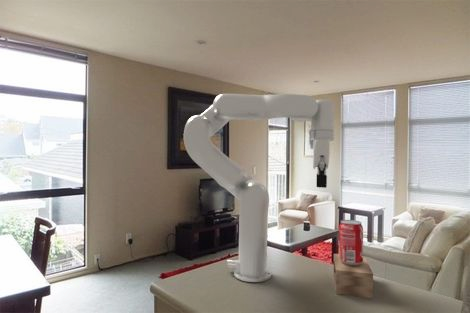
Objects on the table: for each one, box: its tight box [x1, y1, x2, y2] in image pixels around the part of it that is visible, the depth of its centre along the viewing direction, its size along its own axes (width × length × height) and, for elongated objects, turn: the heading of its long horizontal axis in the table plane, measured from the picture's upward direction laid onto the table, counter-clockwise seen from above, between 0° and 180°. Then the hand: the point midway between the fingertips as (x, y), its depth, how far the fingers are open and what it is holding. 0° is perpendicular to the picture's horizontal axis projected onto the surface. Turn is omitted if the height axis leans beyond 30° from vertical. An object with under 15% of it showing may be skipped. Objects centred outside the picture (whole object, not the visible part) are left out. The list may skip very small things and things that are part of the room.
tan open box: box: [332, 253, 374, 299], centre depth 98 cm, size 10×16×7 cm, turn 165°
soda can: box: [338, 219, 364, 266], centre depth 98 cm, size 7×7×13 cm
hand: (321, 186), depth 106 cm, fingers open, 9 cm apart
